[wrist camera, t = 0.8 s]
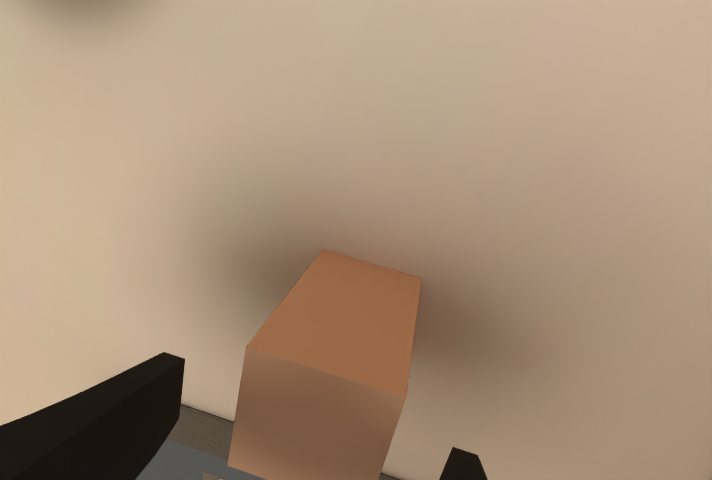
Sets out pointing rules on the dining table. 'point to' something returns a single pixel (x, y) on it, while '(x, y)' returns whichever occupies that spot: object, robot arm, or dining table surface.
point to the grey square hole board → (198, 451)
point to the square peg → (327, 374)
